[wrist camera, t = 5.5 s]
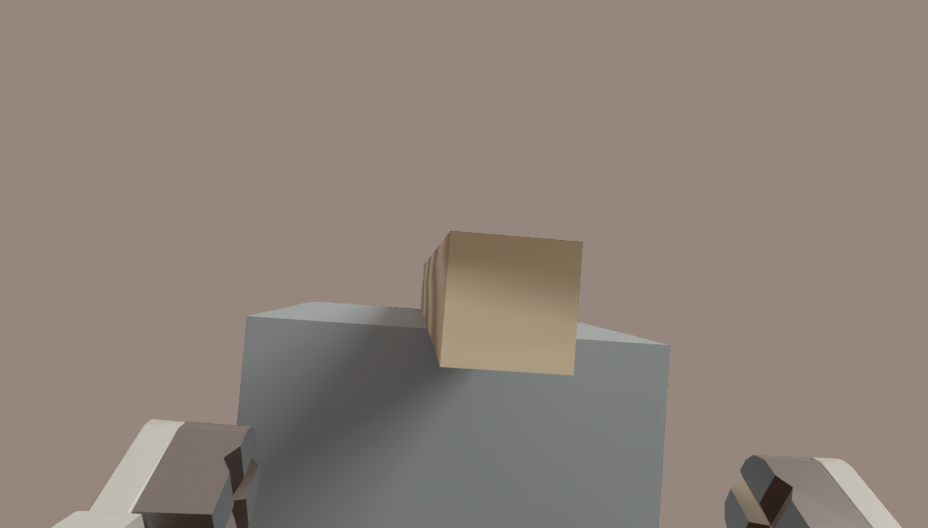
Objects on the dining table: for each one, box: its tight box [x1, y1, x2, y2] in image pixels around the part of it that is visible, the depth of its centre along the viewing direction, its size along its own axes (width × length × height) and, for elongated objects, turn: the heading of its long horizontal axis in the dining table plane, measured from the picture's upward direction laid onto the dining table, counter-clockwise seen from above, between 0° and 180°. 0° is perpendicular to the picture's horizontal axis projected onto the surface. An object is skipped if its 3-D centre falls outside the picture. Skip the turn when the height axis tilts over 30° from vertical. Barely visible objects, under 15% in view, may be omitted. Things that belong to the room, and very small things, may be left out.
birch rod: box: [421, 231, 583, 375], centre depth 22 cm, size 24×2×2 cm, turn 5°
